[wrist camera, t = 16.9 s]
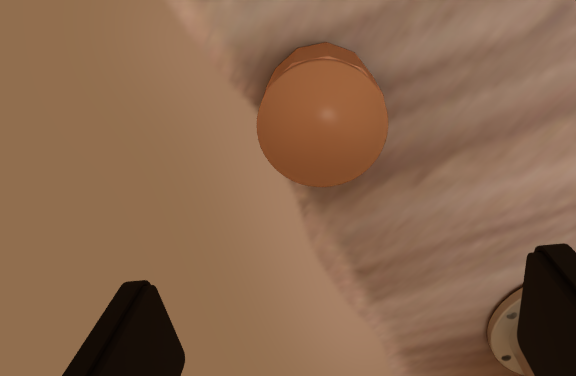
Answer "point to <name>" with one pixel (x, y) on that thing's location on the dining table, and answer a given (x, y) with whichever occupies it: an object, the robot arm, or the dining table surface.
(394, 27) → the dining table surface
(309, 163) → the orange short cylinder
